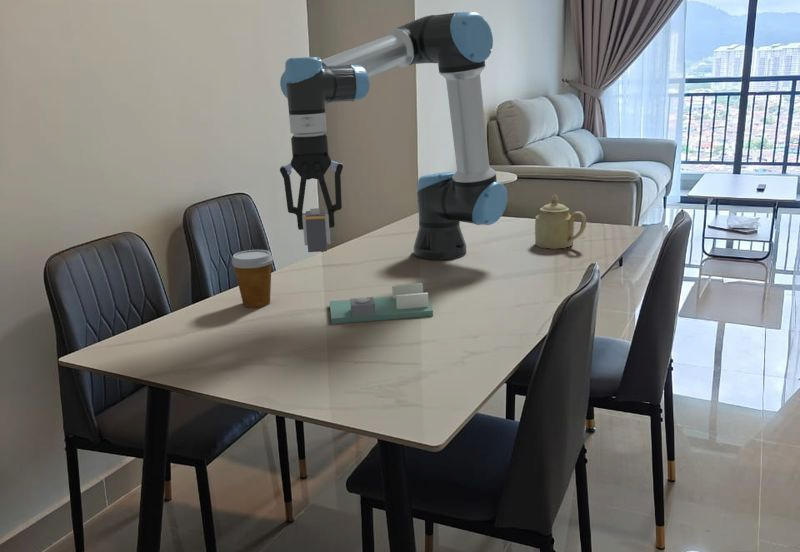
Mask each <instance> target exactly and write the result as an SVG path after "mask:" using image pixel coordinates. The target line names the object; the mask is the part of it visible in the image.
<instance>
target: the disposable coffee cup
mask: <svg viewBox="0 0 800 552" xmlns="http://www.w3.org/2000/svg"><path fill="white" fill-rule="evenodd" d="M273 260H274V257H273V256H272V253H271V251H269V250H267V249H266V250H265V249H250V250H243V251H239V252H236V253H234V254H233V255H232V259H231V264H232V266H233V267H234V268H233V269H234V271H235V276H236V280H237V285H238V289H239V293H240V297H241V301H242V306H243V307H246V308H256V309H257V308H263V307H265V306H268V305H269V304H270V303H271V289H272V285H271V284H272V263H273Z"/></svg>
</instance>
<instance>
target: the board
mask: <svg viewBox="0 0 800 552" xmlns="http://www.w3.org/2000/svg"><path fill="white" fill-rule="evenodd" d="M391 290H392V293H391V294H392V295H391V296H383V297H382V296H381V297H380V296H378V297H373V296H368V297H358V298H357V297H356V298H355V297H354V298H350V299H341V300H339V299H338V300H329V309H330V310H329V311H330V319H331V320H330V321H331V325H333V324H336V325H337V324H346V323H359V322H360V323H363V322H372V321H384V320H385V321H387V320H398V319H399V320H400V319H410V318H422V317H423V318H424V317H433V316H434V309H433V308H432V306H431V305H430V303H429V292H424V285H423V282H416V283H415V282H414V283H401V284H392V285H391Z"/></svg>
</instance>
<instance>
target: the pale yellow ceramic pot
mask: <svg viewBox="0 0 800 552" xmlns="http://www.w3.org/2000/svg"><path fill="white" fill-rule="evenodd" d="M550 200H551V203H548V204H545V205H543V206H542V207H540V208H539V210H540V211H541V212H540V213H539V214H537V215H535V221H534V222H535V223H534V240H535V241H534V242H535V246H536V245H537V246H536V247H538V248H540V247H542V248H541V249H546V248H550V249H549V250H558V249H557V248H564V249H567V248H566V247H569V248H571V247H572V246H573V245H574V240H576V239H578V238H579V237H580V236H582V235H583V233H584V231H585V229H586V226H587V217H586V215H585V213H584V212H582V211H577V210H576V211H574V212H573V213H572V214H570V213H569V210H570V208H569V207H567V206H566V205H565V204H562V203H558V201H559V197H558V196H557V194H553V195H552V197H551V199H550ZM577 215H578V216H579V217H580V221H581V222H580V223H581V224H580V228H579V230H578V231H577V233H576V234H575V235H574V231H575V230H574V229H575V219H576V217H577ZM570 246H571V247H570Z"/></svg>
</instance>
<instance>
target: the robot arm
mask: <svg viewBox="0 0 800 552" xmlns="http://www.w3.org/2000/svg"><path fill="white" fill-rule="evenodd" d="M493 47H494V37H493V32H492V28H491V27H490V24H489V23H488V21H487V19H486V18H484V16H483V15H481V14H480V13H479V12H475V11H457V12H449V13H442V14H432V15H431V14H430V15H426V16H423V17H420V18H417V19H416V20H412V21H410V22H408V23H407V22H406V23H405V24H402V25H401V26H398V27H396V28H393V29H391V30H389V32H388V33H387V35H386V36H383V37H380V38H377V39H375V40H373V41H370V42H367V43H363V44H361V45H358V46H356V47H353V48H351V49H348V50H345V51H341V52H339V53H336V54H334V55H331V56H329V57H326V58H323V59H321V57H319V56H306V57H305V56H303V57H302V56H301V57H291V58H288V59H287V60H286V61H285V62H284V63H285V64H284V66H285V67H284V72H283V73H282V75H281V76H280V80H279V83H280V85H279V86H280V90H281V92H282V95H283V96H284V97H285V98H286V99H287V106H288V118H289V120H288V121H289V129H290V130H289V131H290V134H291V135H292V136H291V138H290V142H291V152H292V156H291V157H292V158H291V159H290V162H289V163H287V164H286V165H282V166H280V168H279V172H280V174H281V176H282V178H283V183H284V191H285V200H286V207H287V212H288V214H292V215H293V214H294V215H295V216H296V219H297V220H296V221H297V229H298V230H300V231H301V230H302V231H303V240H304V241H303V242H304V246H308V243H307V229H306V219H305V215H306V212H304V213H303V210H304V201H305V194H306V186H307V181H309V180H311V179H314V180H318V182H319V186H320V190H321V193H322V196H323V199H324V202H325V206H326V209H327V211H325V228H326V243H327V245H329V244H330V245H331V233H330V231H331V229H330V228H335V213H336V212H337V211H340V210H341V209H342V181H341V179H342V178H341V175H342V173H343V172H342V171H343V168H344V164H343V163H342V162H337V161H334V160H332V159H331V157H330V154H329V144H328V135H327V134H325V133H326V132H327V117H326V104H330V103H343V102H355V101H360V100H362V99H364V98H366V96H367V95H368V93H369V91H370V77H373V76H374V75H378V74H380V73H383V72H385V71H387V70H390V69H392V68H395V67H399V68H406V67H409V66H412V65H417V64H419V65H420V64H437V65H438V74H440V76H442V77H443V78H444V79H445V82H446V90H447V97H448V99H447V100H448V106H449V113H450V115H449V116H450V122H451V131H452V132H451V133H452V138H453V140H452V141H453V147H454V148H453V149H454V156H455V164H456V171H445V172H443V171H442V172H436V173H430V174H429V173H428V174H425V175H422V176H420V177H419V178H418V180H417V182H418V183H417V190H416V191H417V209H418V230H417V235H416V237H415V240H414V244H413V254H414V256H415V257H417V258H420V259H426V260H438V261H439V260H451V259H457V258H461V257H462V256H465V255H466V253H467V244H466V241H465V239H464V235H463V233H462V230H461V229H462V228H461V223H460V222H462V223H467V224H472V225H473V224H474V225H478V226H483V225H484V226H490V225H493V224H495V223H497V222H498V221H499V220H500V219H501V217H502V216H503V214H504V212H505V211H506V208H507V204H508V190H507V187H506V186H505V185H504V184H503V183H502V182H501V181H497V180H498V179H497V172H496V170H495V169H494V168H492V167H491V166H490V159H489V149H488V140H487V130H486V120H485V119H486V118H485V110H484V101H483V91H482V90H483V89H482V83H481V81H482V80H481V73H482V72H483V71H484V69H485V68H486V60H487V59H488V58H489V57H490V55H491V53H492V51H491V50H492V49H493ZM330 167H331V171H332V172H333V173H334V194H335V195H334V196H335V197H334V198H335V199H334V200H335V203H334V204H333V203H332V200H331V199H332V198H331V197H330V196H331V195H330V193H329V188H328V186H327V185H328V184H327V183H326V179H325V178H326V177H325V174H327V171H328V169H329V168H330ZM292 169H294V171H295V172H296V173H297V174H298V176H299V177H300V182H299V189H298V196H297V197H298V199H297V206H295V205H294V199H293V190H292V189H293V188H292V183H291V176H290V175H291V174H292Z"/></svg>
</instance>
